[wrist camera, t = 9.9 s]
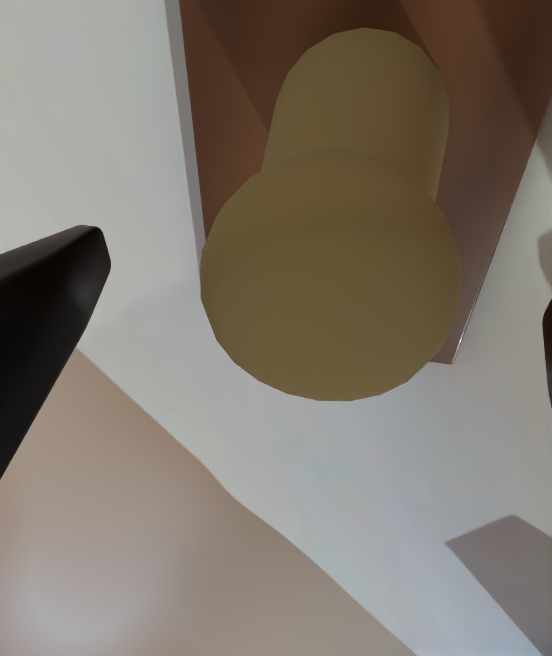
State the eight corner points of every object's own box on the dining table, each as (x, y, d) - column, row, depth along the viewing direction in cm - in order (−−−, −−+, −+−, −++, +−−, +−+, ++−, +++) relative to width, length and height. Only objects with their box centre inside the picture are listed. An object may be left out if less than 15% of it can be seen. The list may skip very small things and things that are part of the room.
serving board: (675, -298, 11) (706, -321, 9) (450, 344, 24) (453, 365, 23) (168, -272, 12) (145, -288, 11) (223, 314, 26) (215, 332, 25)
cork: (481, 150, 16) (558, 393, 8) (335, 233, 19) (287, 466, 11) (390, -23, 14) (371, 84, 6) (239, 107, 17) (89, 293, 9)
